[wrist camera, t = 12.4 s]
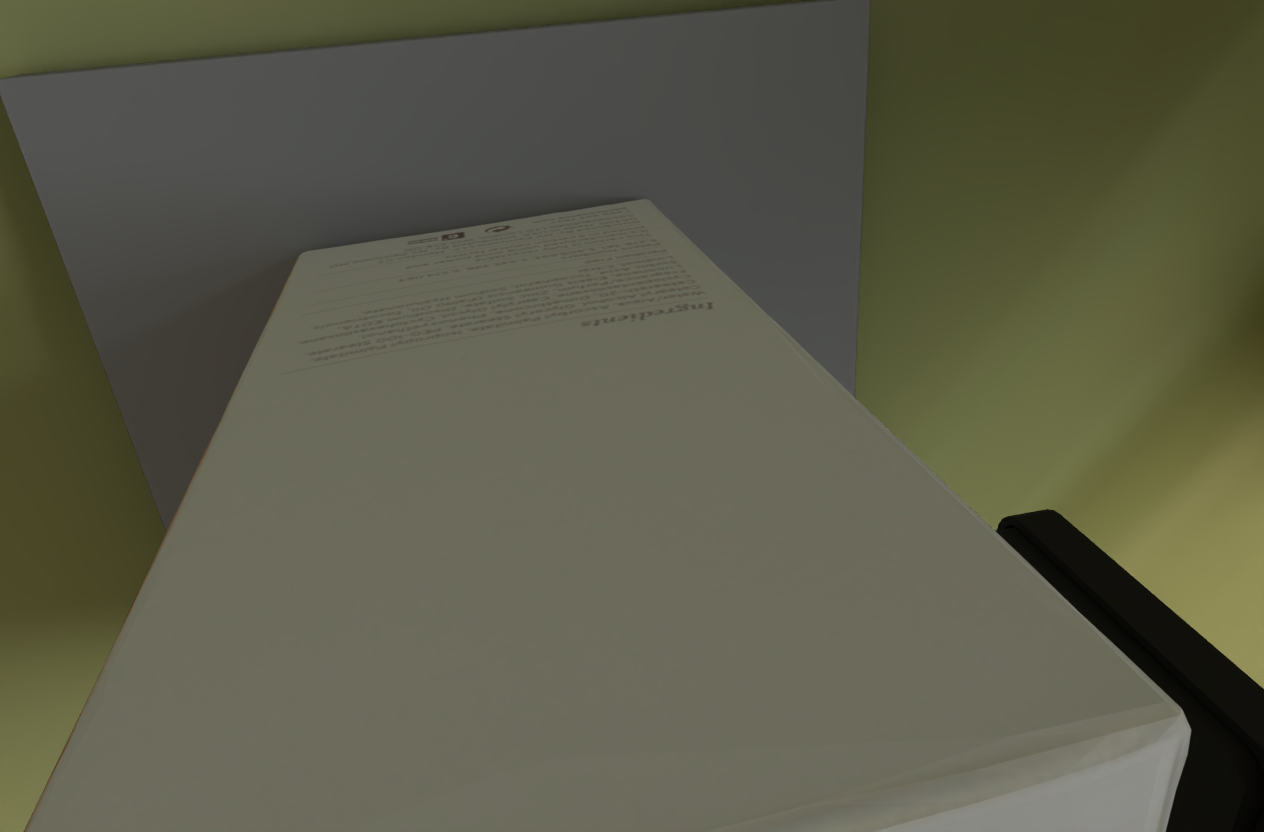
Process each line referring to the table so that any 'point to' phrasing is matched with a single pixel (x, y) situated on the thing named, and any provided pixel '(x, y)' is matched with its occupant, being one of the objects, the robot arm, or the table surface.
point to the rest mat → (438, 176)
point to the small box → (587, 581)
